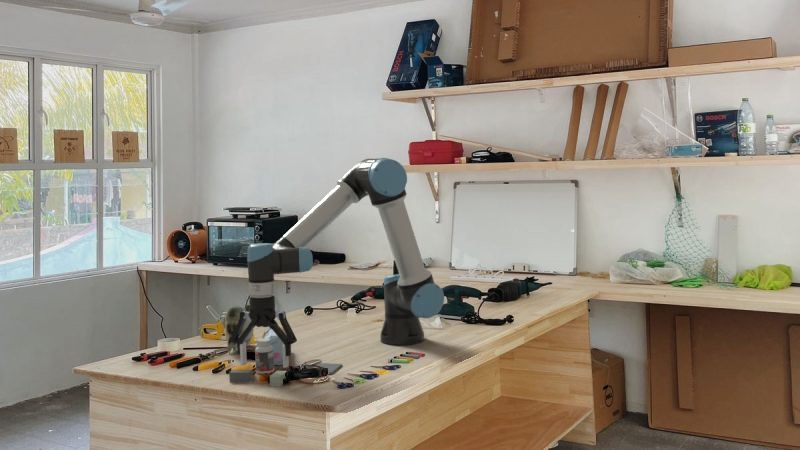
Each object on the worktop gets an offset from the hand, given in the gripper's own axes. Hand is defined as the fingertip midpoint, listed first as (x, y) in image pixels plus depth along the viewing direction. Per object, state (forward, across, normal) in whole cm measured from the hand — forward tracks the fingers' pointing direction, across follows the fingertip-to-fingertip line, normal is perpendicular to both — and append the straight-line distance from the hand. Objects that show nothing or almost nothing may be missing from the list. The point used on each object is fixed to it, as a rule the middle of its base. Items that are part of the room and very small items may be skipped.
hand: (264, 365), depth 243 cm
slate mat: (+2, +16, +5) cm, 17 cm away
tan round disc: (+2, +18, -6) cm, 19 cm away
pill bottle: (+2, 0, 0) cm, 2 cm away
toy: (+2, -21, +29) cm, 36 cm away
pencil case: (+2, -3, +16) cm, 16 cm away
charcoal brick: (+2, -3, -10) cm, 11 cm away
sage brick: (+2, +9, -11) cm, 14 cm away
